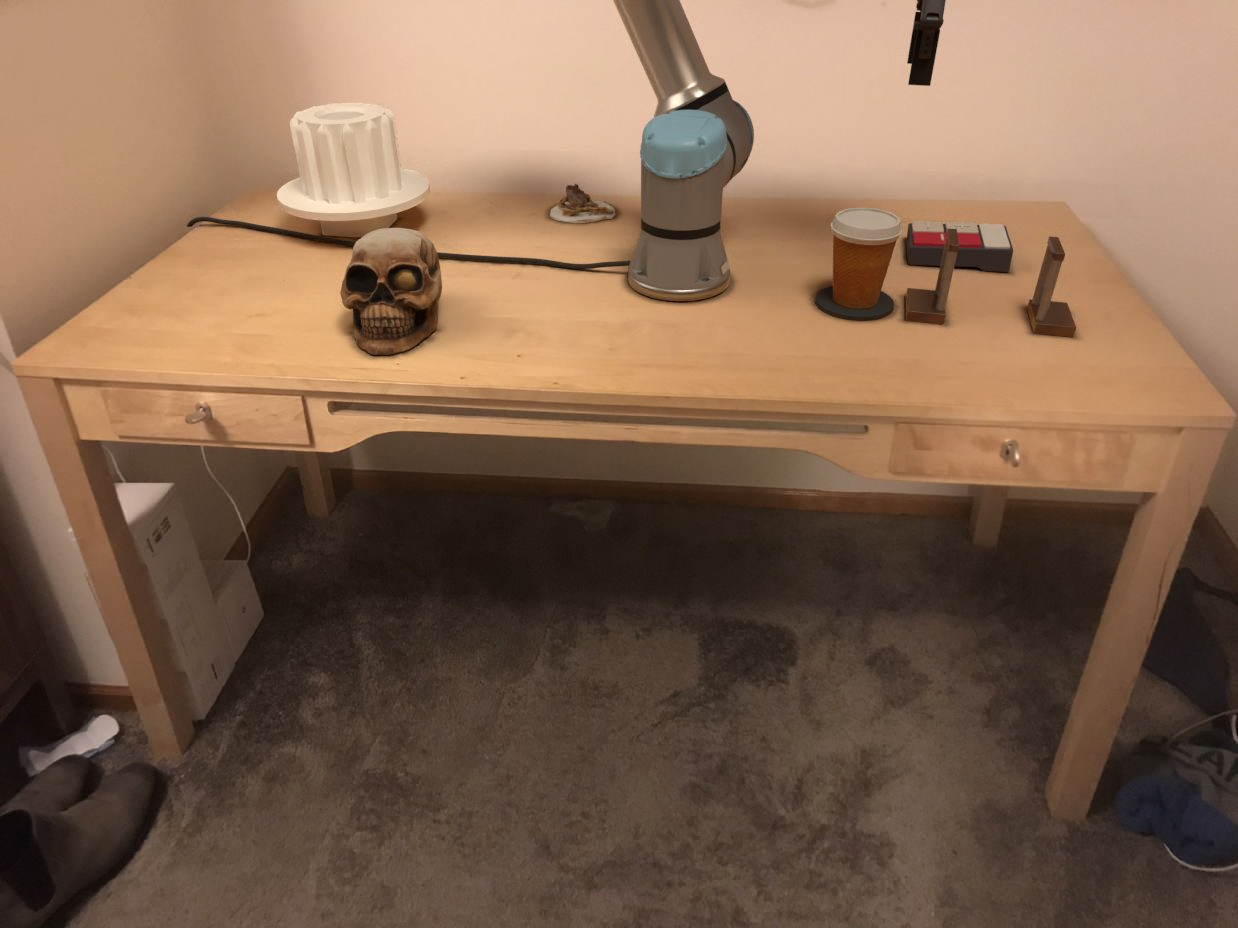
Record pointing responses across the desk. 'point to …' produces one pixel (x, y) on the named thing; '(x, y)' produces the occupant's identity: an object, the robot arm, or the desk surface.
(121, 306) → the desk surface
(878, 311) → the coaster
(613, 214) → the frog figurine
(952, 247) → the bookends
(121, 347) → the desk surface
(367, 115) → the ribbed cylinder on disc
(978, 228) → the calculator
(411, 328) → the brown skull
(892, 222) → the disposable coffee cup
